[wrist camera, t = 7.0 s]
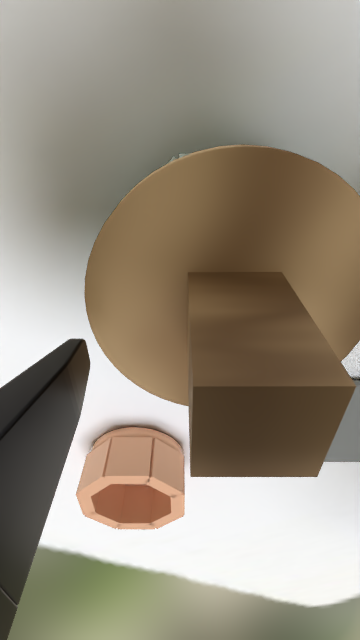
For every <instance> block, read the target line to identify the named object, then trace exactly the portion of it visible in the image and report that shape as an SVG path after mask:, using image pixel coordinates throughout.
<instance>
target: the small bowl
mask: <svg viewBox="0 0 360 640" xmlns="http://www.w3.org/2000/svg"><path fill="white" fill-rule="evenodd" d="M76 496H77V499H78V501H79V504H80V507H81V510H82V513H83V515H85V516H86V517H88V518H91V519H93V520H95V521H98V522H100V523H103V524H105V525H108V526H110V527H112V528H115V529H116V528H118V529H155V528H156V529H158V528H160V527H162V526H164V525H166V524H168V523H170V522H172V521H174V520H176V519H178V518H181V517H183V515H184V497H185V492H184V453H183V450H182V448H181V446H180V445H179V444H178V443H177V442H176V441H175V440H174V439H173V438H171V437H170V436H168V435H166V434H164V433H162V432H159V431H156V430H152V429H148V428H138V427H130V428H121V429H117V430H113V431H110V432H108V433H106V434H104V435H103V436H101V437H100V438H99V439H98V440H97V441H96V442H95V443H94V445H93V448H92V451H91V452H90V453H89V454H87V457H86V460H85V464H84V467H83V471H82V475H81V478H80V482H79V485H78V489H77V492H76Z"/></svg>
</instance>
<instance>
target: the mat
mask: <svg viewBox="0 0 360 640" xmlns="http://www.w3.org/2000/svg"><path fill="white" fill-rule="evenodd" d="M353 382H354V383H355V385H356V388H355V391H354V393H353V395H352V398H351V400H350V402H349V405H348V407H347V409H346V411H345V414H344V416H343V418H342V421H341V423H340V425H339V428H338V430H337V432H336V434H335V437H334V439H333V441H332V444H331V446H330V448H329V451H328V453H327V455H326V457H325V460H324V462H360V380H353Z"/></svg>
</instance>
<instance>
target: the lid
mask: <svg viewBox="0 0 360 640" xmlns="http://www.w3.org/2000/svg"><path fill="white" fill-rule="evenodd" d="M85 303H86V311H87V315H88V319H89V323H90V326H91V329H92V331H93V334H94V336H95V338H96V340H97V342H98V344H99V346H100V347H101V349H102V351H103V352H104V354H105V355H106V356H107V358H108V359H109V360H110V361H111V363H112V364H113V365H114V366H115V367H116V368H117V369H118V370H119V371H120V372H121V373H122V374H123V375H124V376H125V377H127V378H128V379H129V380H131V381H132V382H133V383H135V384H136V385H137V386H139V387H141V388H142V389H144V390H146V391H147V392H149V393H151V394H153V395H156V396H158V397H160V398H162V399H165V400H168V401H171V402H174V403H177V404H181V405H186V406H189V436H190V473H191V477H317V476H318V474H319V471H320V469H321V467H322V464H323V462H324V460H325V457H326V455H327V453H328V451H329V448H330V446H331V444H332V441H333V439H334V437H335V434H336V432H337V430H338V428H339V425H340V423H341V421H342V418H343V416H344V414H345V411H346V409H347V407H348V405H349V402H350V400H351V398H352V395H353V393H354V391H355V388H356V385H355V383H354V382H353V380H352V379H351V377H350V376H349V374H348V373H347V371H346V370H345V368H344V366H343V365H342V363H341V361H342V360H343V359H344V358H345V357H346V356H347V355H348V354H349V353H350V352H351V350H352V349H353V348H354V347H355V345H356V344H357V343H358V342H359V340H360V196H359V195H358V194H357V192H356V191H355V190H354V189H353V188H352V187H351V186H350V185H349V184H348V183H347V182H345V181H344V180H343V179H342V178H341V177H340V176H339V175H337V174H336V173H334V172H333V171H331V170H329V169H328V168H326V167H324V166H323V165H321V164H320V163H318V162H315V161H313V160H310V159H308V158H305V157H303V156H300V155H298V154H295V153H292V152H289V151H285V150H281V149H276V148H272V147H268V146H258V145H244V144H241V145H229V146H218V147H214V148H209V149H205V150H200V151H196V152H193V153H191V154H188V155H186V156H183V157H180V158H178V159H175V160H173V161H171V162H170V163H168V164H166V165H164V166H162V167H161V168H159V169H157V170H155V171H154V172H152V173H151V174H150V175H148V176H147V177H146V178H145V179H143V180H142V181H141V182H139V183H138V184H137V185H136V186H135V187H134V188H133V189H132V190H131V191H130V192H129V193H128V194H127V195H126V196H125V197H124V198H123V199H122V200H121V201H120V203H119V204H118V205H117V207H116V208H115V210H114V211H113V212H112V214H111V215H110V216H109V218H108V219H107V221H106V222H105V223H104V225H103V227H102V229H101V231H100V233H99V235H98V236H97V238H96V240H95V242H94V245H93V248H92V251H91V254H90V257H89V260H88V265H87V270H86V276H85Z"/></svg>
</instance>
